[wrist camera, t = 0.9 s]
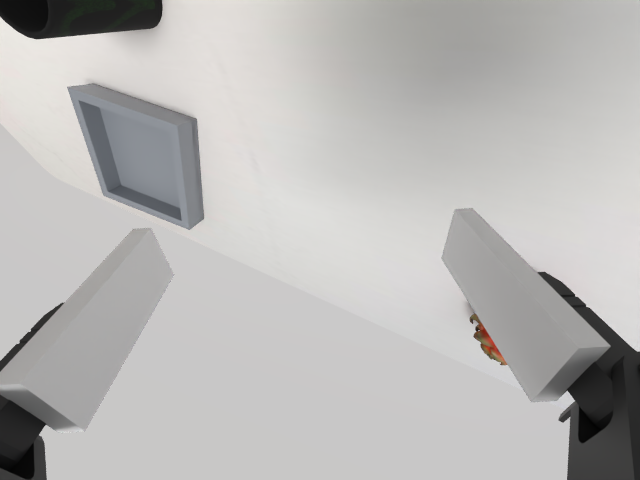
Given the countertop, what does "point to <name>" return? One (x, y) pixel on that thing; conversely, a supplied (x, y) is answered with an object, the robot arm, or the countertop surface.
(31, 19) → the cup
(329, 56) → the countertop surface
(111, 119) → the box
